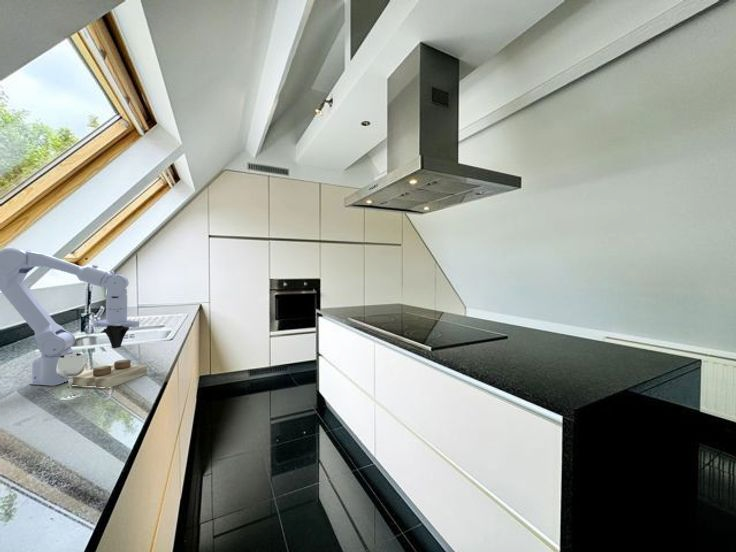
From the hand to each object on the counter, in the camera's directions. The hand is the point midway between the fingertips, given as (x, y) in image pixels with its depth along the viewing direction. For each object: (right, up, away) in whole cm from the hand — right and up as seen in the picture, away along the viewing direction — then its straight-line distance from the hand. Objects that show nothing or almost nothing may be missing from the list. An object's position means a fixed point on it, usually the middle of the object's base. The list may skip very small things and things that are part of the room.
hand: (116, 347), depth 106 cm
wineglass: (+3, -10, -20) cm, 22 cm away
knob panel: (+2, -10, -5) cm, 11 cm away
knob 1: (+3, -9, -9) cm, 13 cm away
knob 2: (+4, -9, -2) cm, 10 cm away
